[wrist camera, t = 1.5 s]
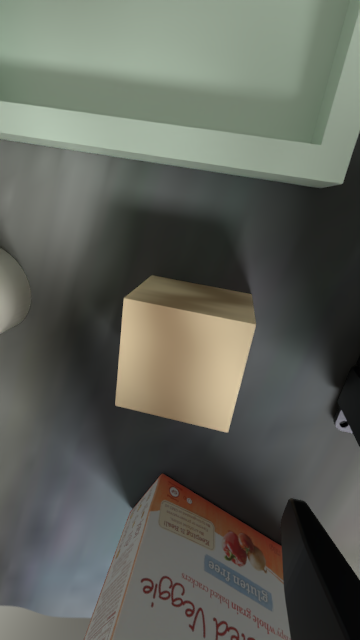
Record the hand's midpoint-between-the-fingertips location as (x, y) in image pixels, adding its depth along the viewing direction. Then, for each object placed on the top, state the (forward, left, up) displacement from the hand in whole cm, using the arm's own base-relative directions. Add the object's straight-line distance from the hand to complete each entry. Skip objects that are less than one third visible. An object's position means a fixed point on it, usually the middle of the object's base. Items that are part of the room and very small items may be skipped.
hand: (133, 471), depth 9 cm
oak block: (0, 0, -11) cm, 11 cm away
